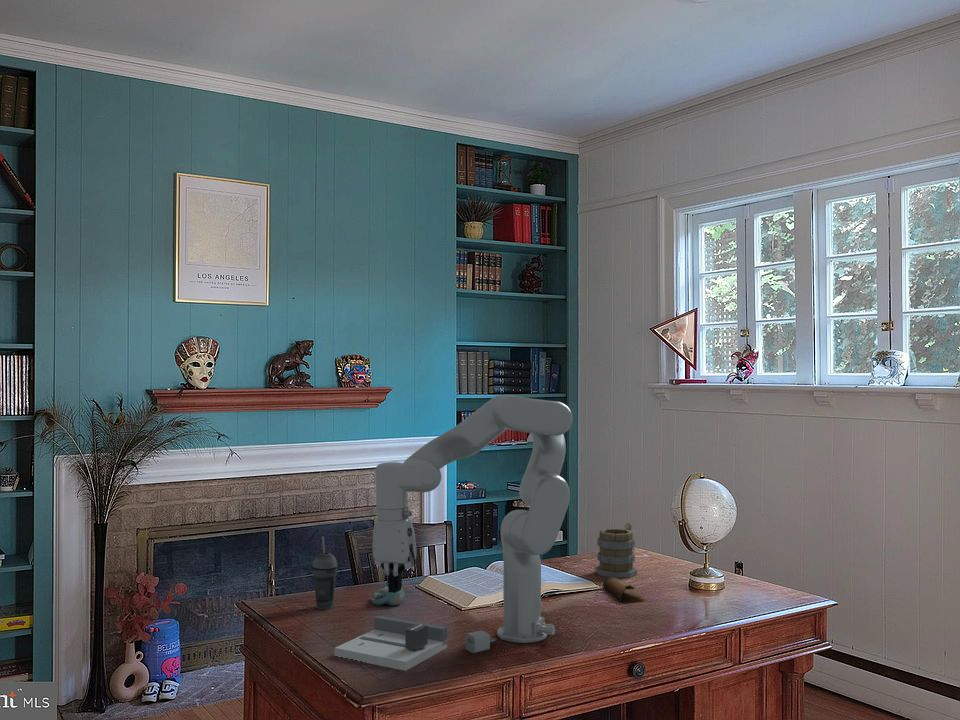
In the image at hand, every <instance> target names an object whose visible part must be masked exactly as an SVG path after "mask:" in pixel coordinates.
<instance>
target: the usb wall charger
mask: <svg viewBox="0 0 960 720" xmlns="http://www.w3.org/2000/svg"><path fill="white" fill-rule="evenodd" d="M496 641H497V637H492V635H490V633H489V632H487V631H484V630H477V631H473V632H468V633H465V650H467V651H469V652H470V653H472V654H477V653H481V652H485V651H489V650H490V648H491V643H493V642H496Z"/></svg>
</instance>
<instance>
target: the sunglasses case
mask: <svg viewBox="0 0 960 720" xmlns="http://www.w3.org/2000/svg"><path fill="white" fill-rule="evenodd" d="M602 586H603V588H604V589H606V590H608V591H609V592H611V593H612V594H613V595H614V596H615V597H616V598H617V599H619V600H620V601H621V602H622V603H623V604H627V603H628V604H629V603H644V602H647V601H648V600H647V599H646V598H645V597H644V596H643V595H642V594H641V593H640V592H639V591H638V590H637V589H635V586H634V585H632V584H630V583H628V582H626V581H624V580H622V579H621V578H613V577H605V579H604V580H603V582H602Z"/></svg>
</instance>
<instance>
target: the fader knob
mask: <svg viewBox="0 0 960 720" xmlns="http://www.w3.org/2000/svg"><path fill="white" fill-rule="evenodd" d="M427 644H428V626H427V625H422V624H415V625H413V626H411V627H409V628H407V629H405V648H406V649H411V650H418V649H420V648H422V647H423V646H425V645H427Z"/></svg>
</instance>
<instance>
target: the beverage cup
mask: <svg viewBox="0 0 960 720" xmlns="http://www.w3.org/2000/svg"><path fill="white" fill-rule="evenodd" d="M321 540H322V541H321V542H322V552H320V553H319V554H318V555H317V556H315V558H314V559H313V561H312V567H311V568H312V573H313V580H314V589H315V591H314V592H315V593H314V594H315V604H316V609H317V608H318V609H317V610H319V609H320V610H319V611H328V609H329V610H331V609H333V608H334V602H335V590H336V580H337V579H336V578H337V574H338V568H339V566H338V561H337V559H336V556H335V555H333V554H332V553H330V552H326V551H325V536H323V535H322V536H321Z"/></svg>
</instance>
